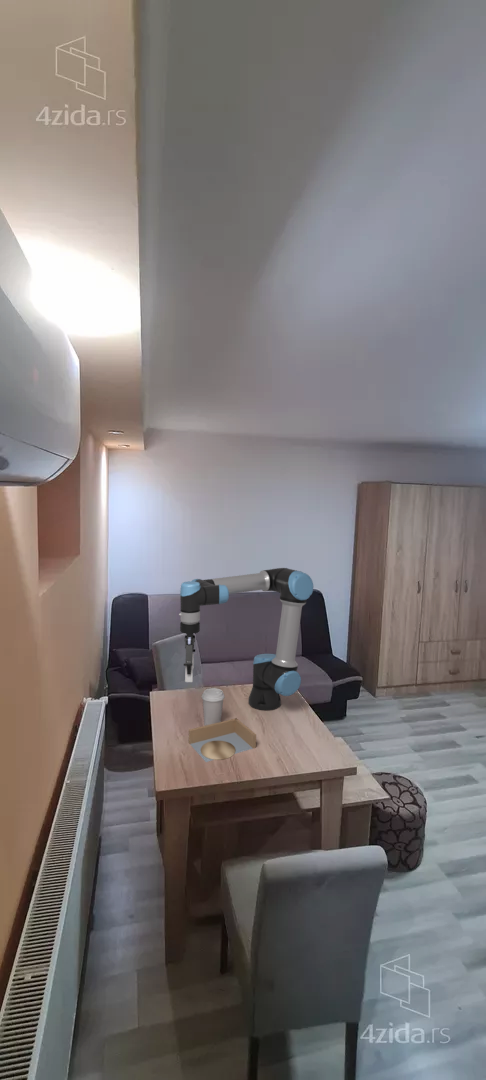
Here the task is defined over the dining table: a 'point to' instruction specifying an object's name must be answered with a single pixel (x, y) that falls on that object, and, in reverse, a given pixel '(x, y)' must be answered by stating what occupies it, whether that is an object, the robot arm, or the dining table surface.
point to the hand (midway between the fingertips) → (189, 674)
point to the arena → (223, 736)
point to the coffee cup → (212, 705)
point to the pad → (218, 750)
